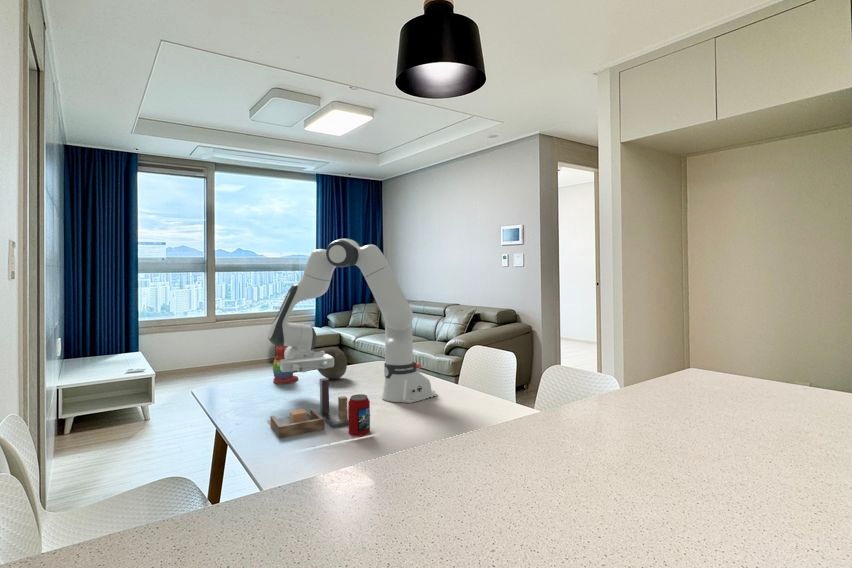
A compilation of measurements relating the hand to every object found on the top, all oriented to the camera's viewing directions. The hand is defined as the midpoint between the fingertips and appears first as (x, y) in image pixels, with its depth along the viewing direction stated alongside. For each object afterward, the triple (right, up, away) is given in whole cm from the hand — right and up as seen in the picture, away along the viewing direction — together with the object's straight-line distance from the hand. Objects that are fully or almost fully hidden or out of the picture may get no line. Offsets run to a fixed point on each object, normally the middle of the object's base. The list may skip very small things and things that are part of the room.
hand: (312, 367), depth 171 cm
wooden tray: (-2, -17, -17) cm, 24 cm away
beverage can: (+21, -17, -24) cm, 36 cm away
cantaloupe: (-2, -14, +45) cm, 47 cm away
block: (-1, -16, -17) cm, 24 cm away
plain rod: (+13, -16, -11) cm, 24 cm away
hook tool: (+12, -16, -13) cm, 24 cm away
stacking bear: (-23, -14, +42) cm, 50 cm away
